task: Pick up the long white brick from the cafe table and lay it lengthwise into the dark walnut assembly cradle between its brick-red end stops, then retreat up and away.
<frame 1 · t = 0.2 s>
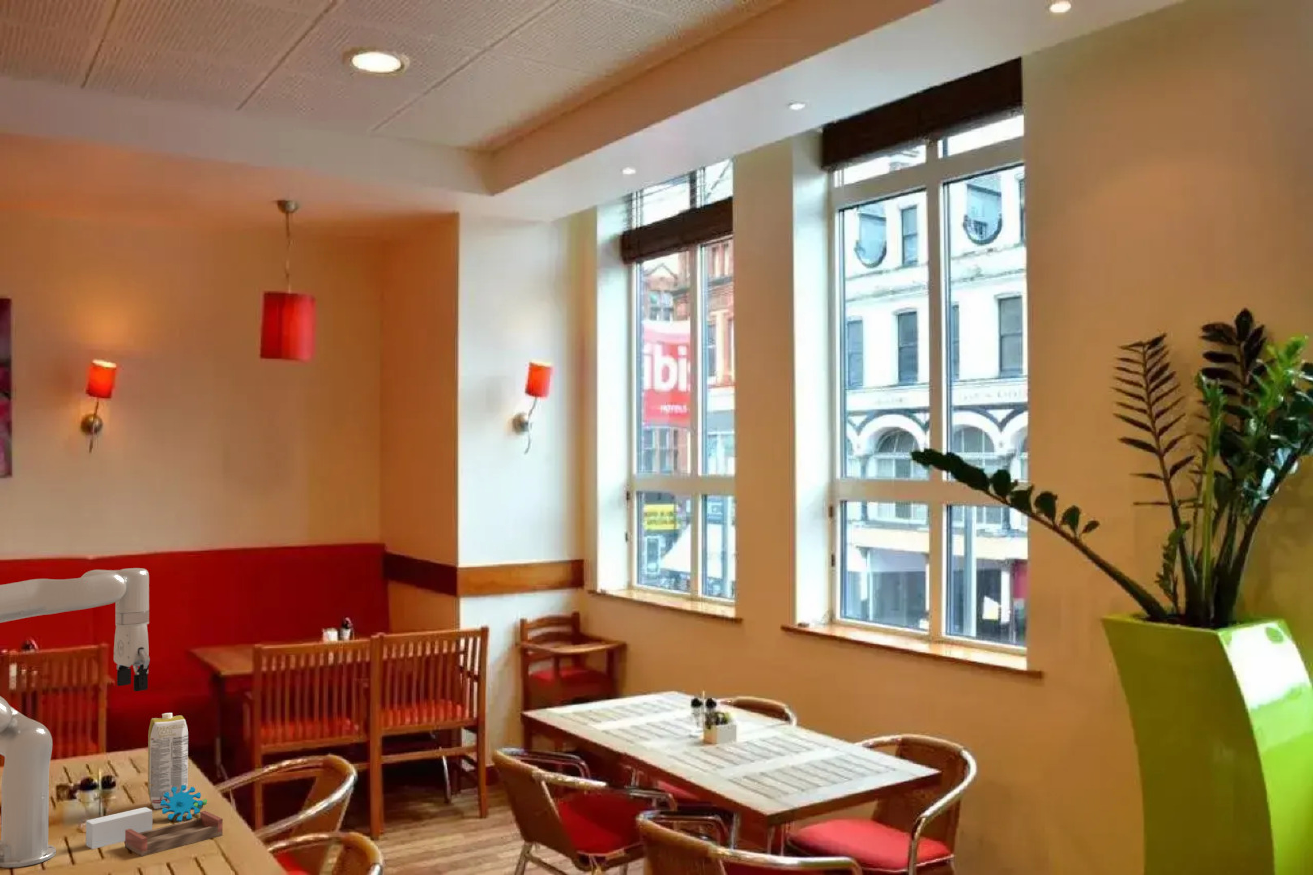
hand: (132, 687, 273), 36 cm above the table, tool pointing down, fingers open, 9 cm apart
juice carton: (167, 805, 295), on the table
blue spiky virus model: (183, 818, 284), on the table
long white brick: (119, 840, 268), on the table
cradle: (174, 840, 266), on the table
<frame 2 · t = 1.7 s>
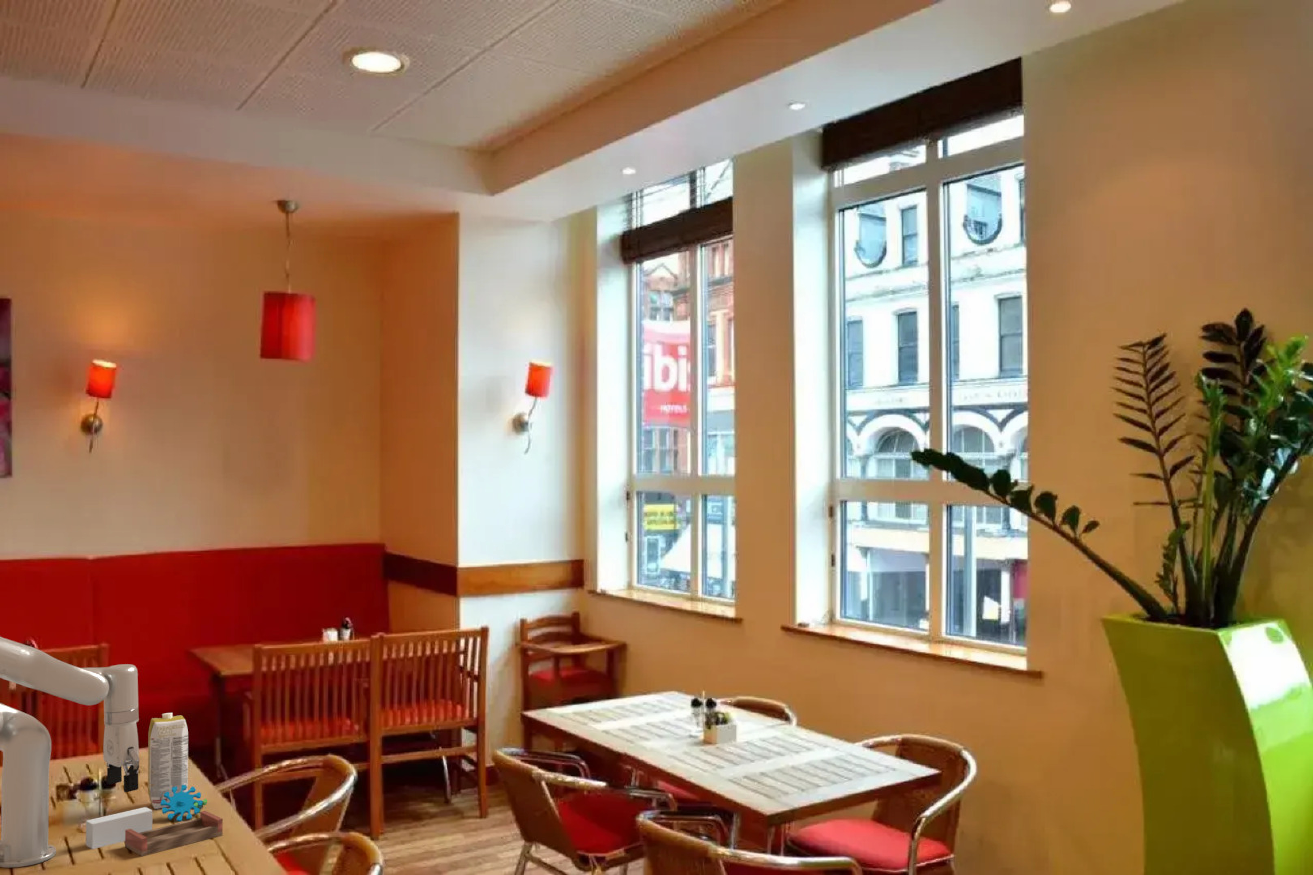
hand: (122, 786, 268), 13 cm above the table, tool pointing down, fingers open, 9 cm apart
nothing on the table moved.
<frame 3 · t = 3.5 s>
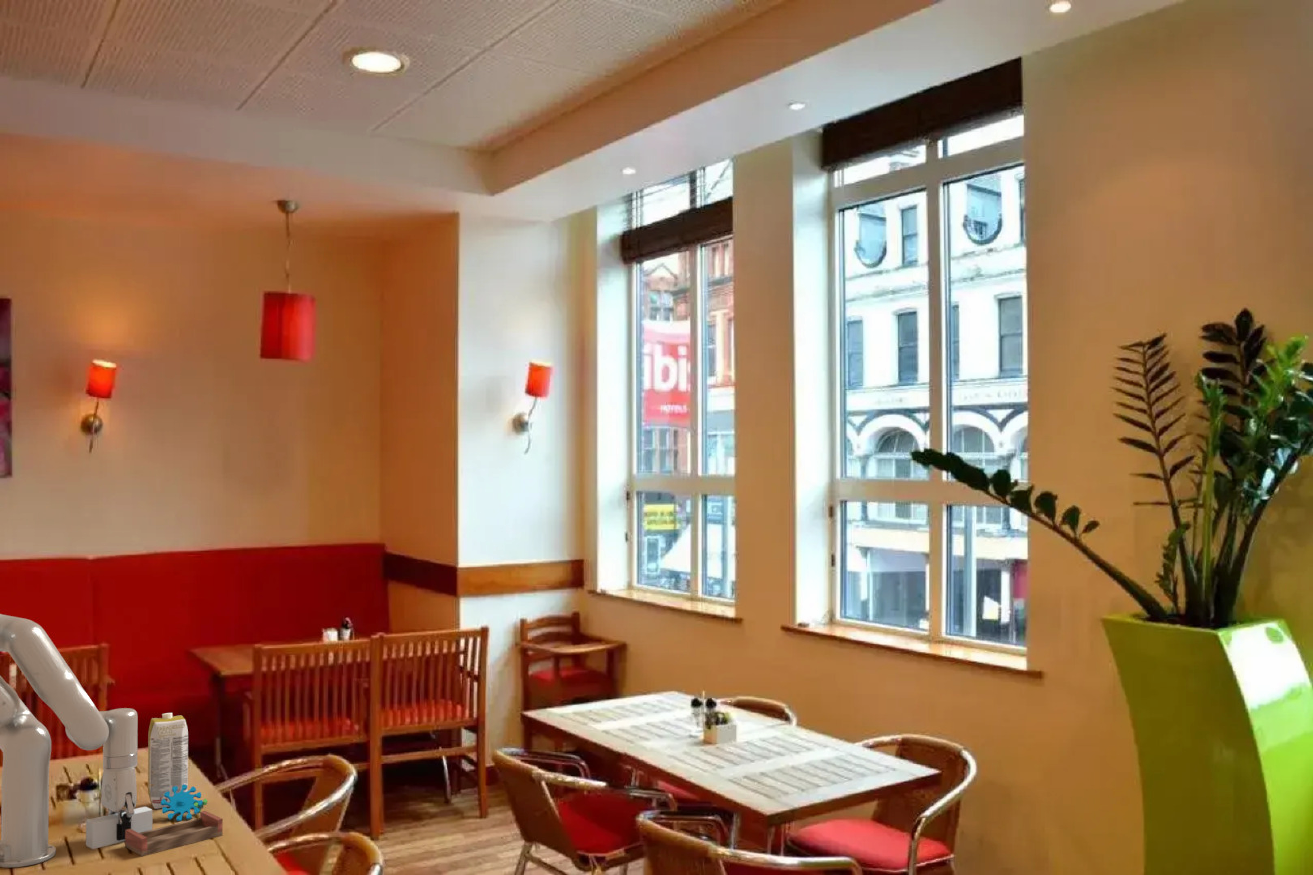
hand: (119, 836, 268), 1 cm above the table, tool pointing down, fingers closed on long white brick, 4 cm apart
long white brick: (119, 839, 268), on the table, touching gripper
everything else where it was.
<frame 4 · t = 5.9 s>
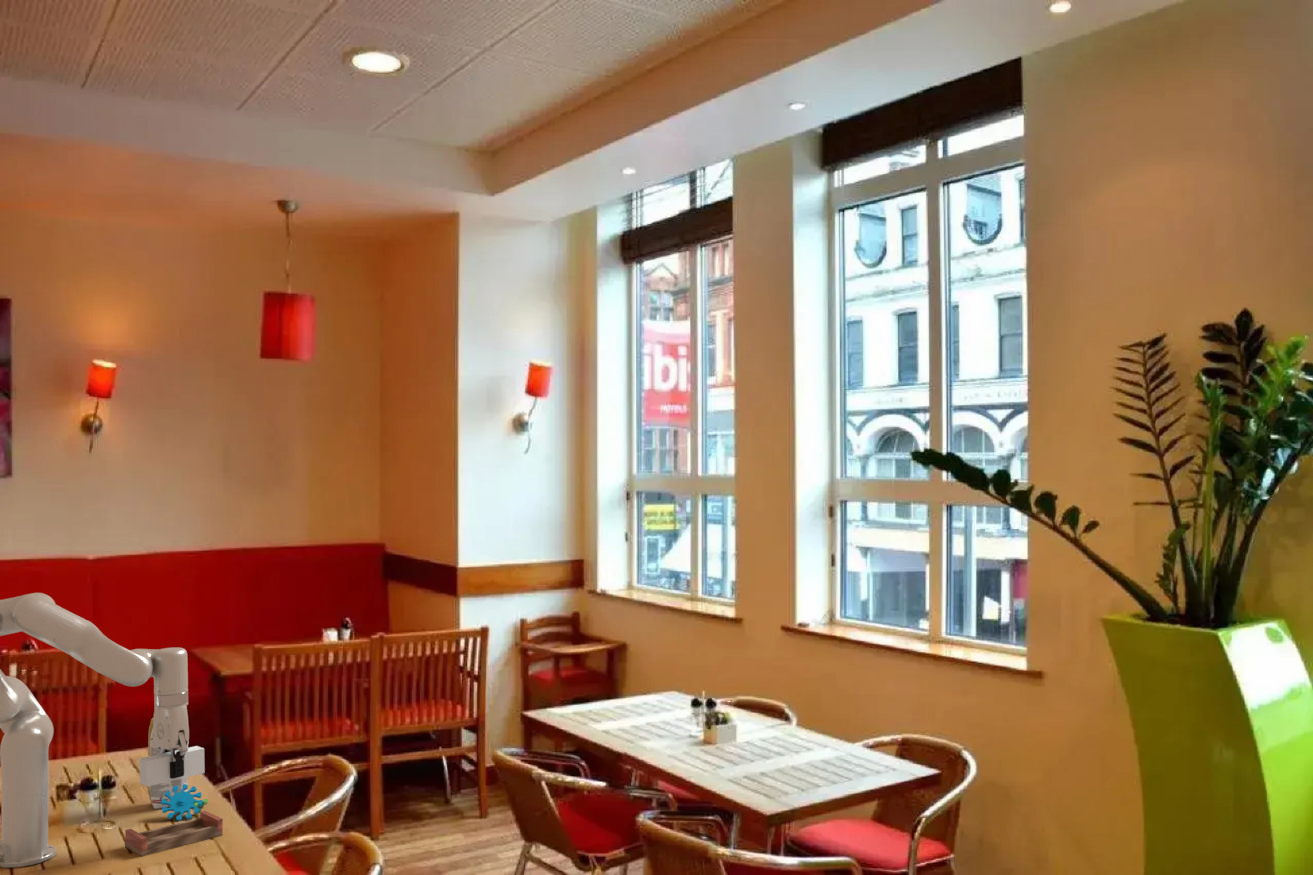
hand: (172, 774, 267), 16 cm above the table, tool pointing down, fingers closed on long white brick, 4 cm apart
long white brick: (172, 778, 267), point 15 cm above the table, touching gripper
everything else where it was.
when the fingers open (4 cm above the table, at t = 8.5 s): long white brick drops 2 cm, resting on cradle.
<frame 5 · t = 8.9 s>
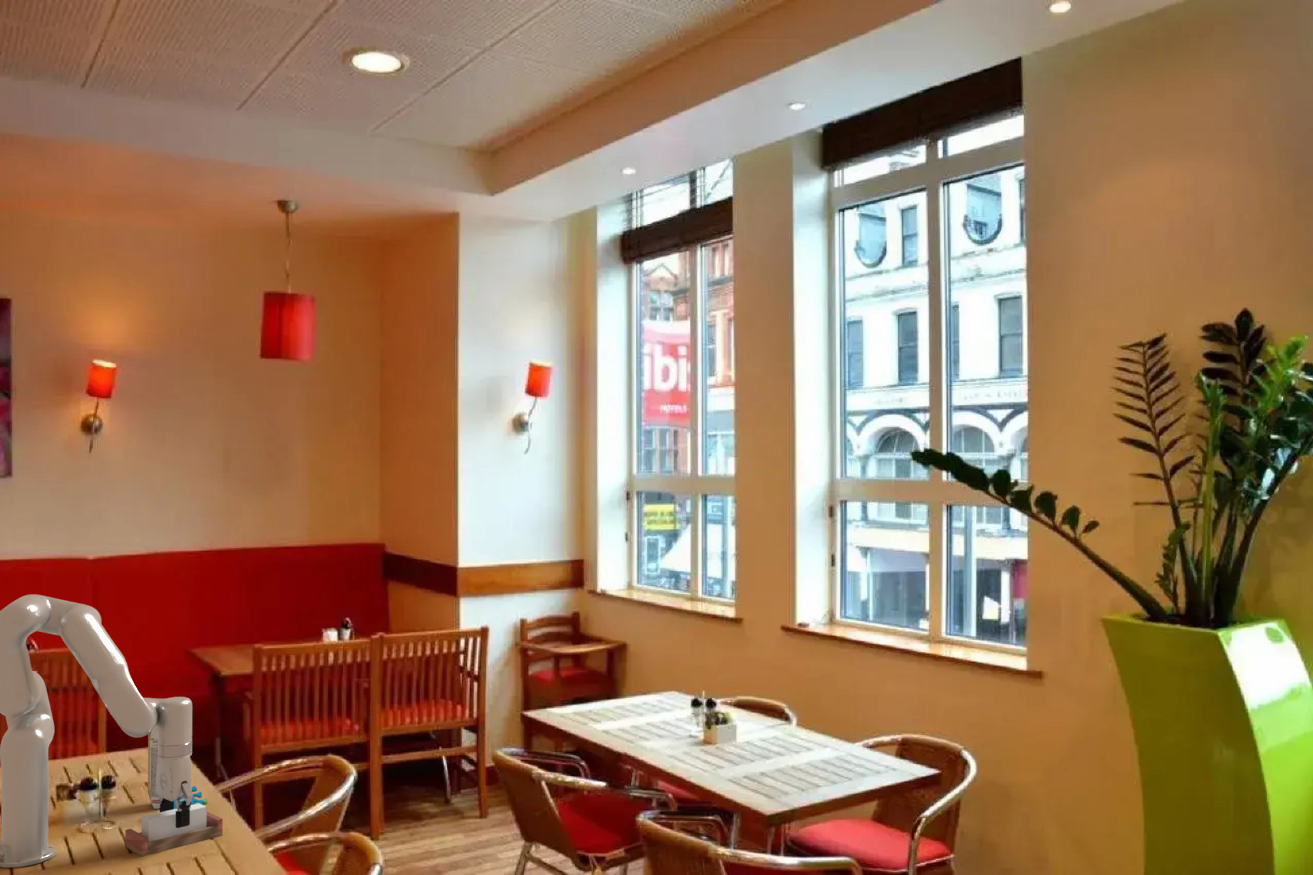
hand: (174, 822, 267), 4 cm above the table, tool pointing down, fingers open, 8 cm apart
long white brick: (174, 836, 267), point 1 cm above the table, touching cradle
everything else where it was.
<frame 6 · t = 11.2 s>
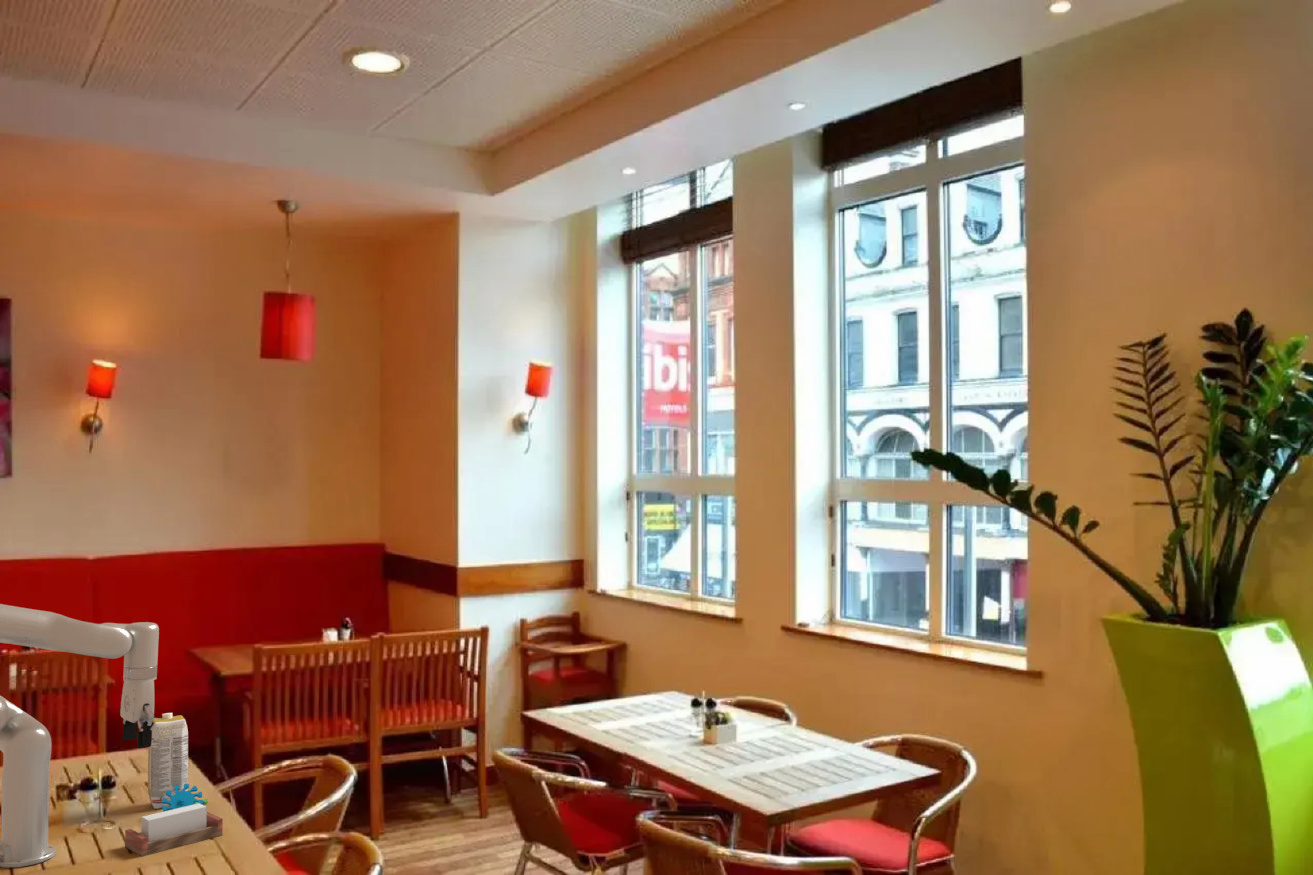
hand: (136, 743, 271), 22 cm above the table, tool pointing down, fingers open, 9 cm apart
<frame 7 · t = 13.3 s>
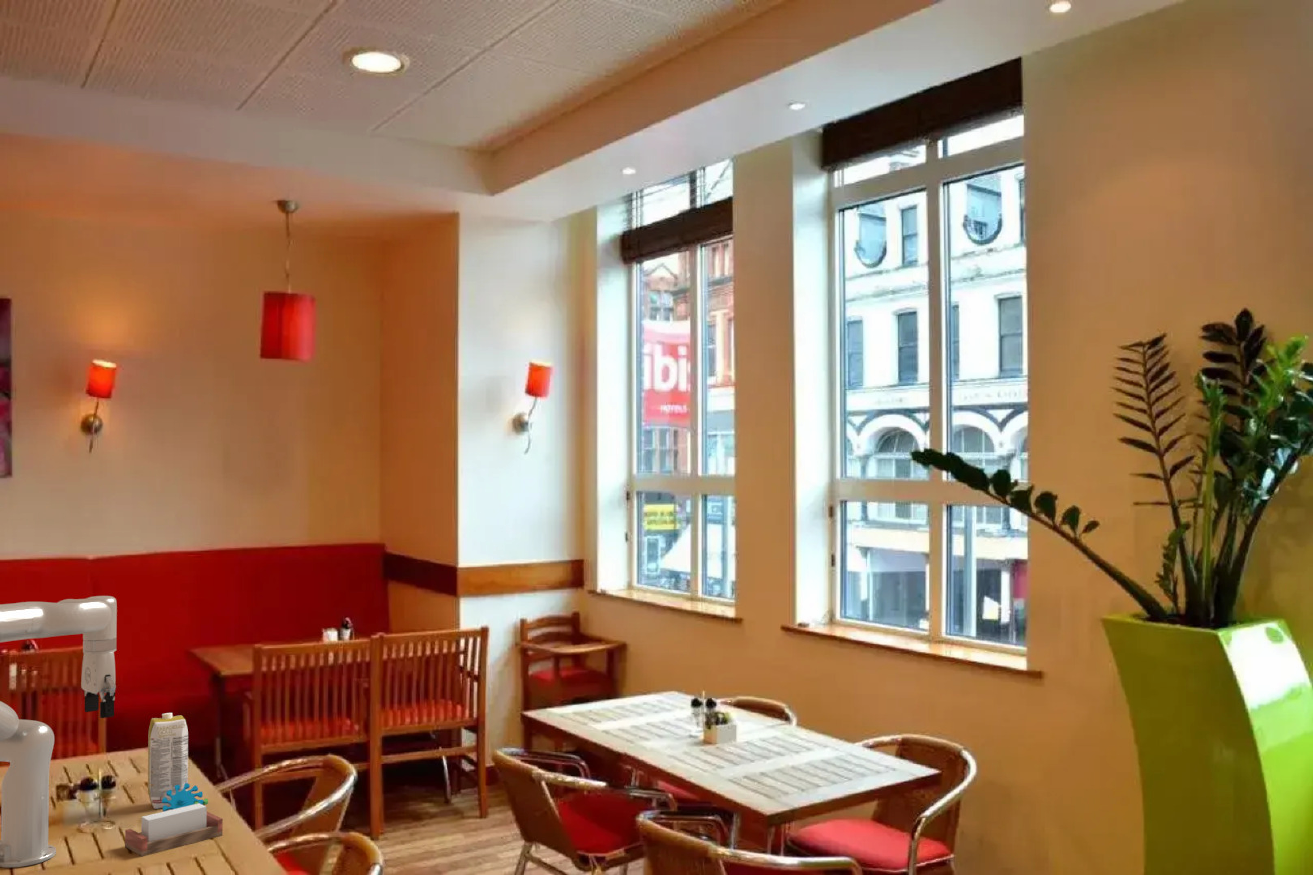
hand: (99, 714, 277), 28 cm above the table, tool pointing down, fingers open, 9 cm apart
at the end: long white brick 0.1 cm off-centre on the cradle, point 1.0 cm above the cradle's base; long white brick tilted 0°; the gripper is holding nothing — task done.
